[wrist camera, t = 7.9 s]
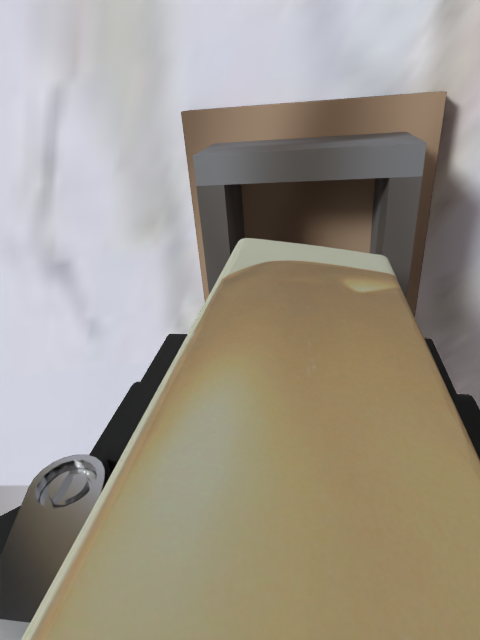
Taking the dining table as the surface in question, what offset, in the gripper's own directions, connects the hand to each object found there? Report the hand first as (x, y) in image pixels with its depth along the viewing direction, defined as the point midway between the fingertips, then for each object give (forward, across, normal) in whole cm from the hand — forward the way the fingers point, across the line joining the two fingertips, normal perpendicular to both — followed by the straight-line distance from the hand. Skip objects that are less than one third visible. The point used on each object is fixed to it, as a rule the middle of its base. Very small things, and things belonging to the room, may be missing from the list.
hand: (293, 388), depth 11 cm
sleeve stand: (+11, 0, 0) cm, 11 cm away
